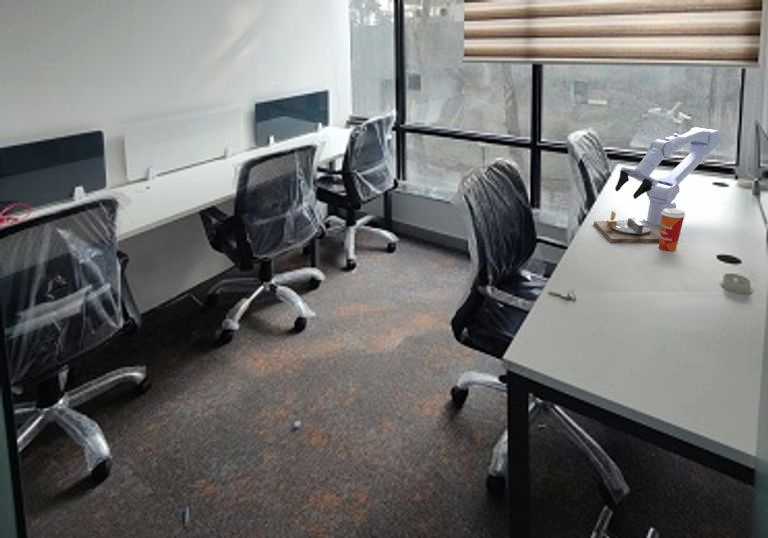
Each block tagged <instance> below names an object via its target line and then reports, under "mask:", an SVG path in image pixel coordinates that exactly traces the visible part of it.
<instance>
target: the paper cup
mask: <svg viewBox="0 0 768 538" xmlns="http://www.w3.org/2000/svg"><path fill="white" fill-rule="evenodd" d="M661 214H662V219H661V225H660V229H659V230H660V238H659V243H658V249H659V250H660V251H664V252H668V253H669V252H675V251H676V250H677V246H678V243H679V240H680V235H681V232H682V227H683V223H684V220H685V219H684V218H685V217H686V212H685V211H684V210H683V209H681V208H677V207H676V208H672V209H671V208H665V209H663V212H661Z"/></svg>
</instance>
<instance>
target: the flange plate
mask: <svg viewBox="0 0 768 538" xmlns="http://www.w3.org/2000/svg"><path fill="white" fill-rule="evenodd" d="M606 221H607V226H608V227H612V229H614V230H616V231H618V232H622V233H627V234H646V233H649V232H650V231H651V226H650V225H648V224H646V223H642V222H639V221H640V220H638V219H637V218H632V217H629V218H627V219H626V220H625V219H622V220H616V219H615V220H610V219H608V220H606Z"/></svg>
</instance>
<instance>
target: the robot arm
mask: <svg viewBox="0 0 768 538" xmlns="http://www.w3.org/2000/svg"><path fill="white" fill-rule="evenodd" d="M720 133H721V132H720V131H719V130H718V129H707V128H700V127H699V126H698V127H697V126H696V127H693V128H690V130H689V131H688V132H685V133H684V134H678V133H673V134H672V135H671V136H669V137H667V136H666V137H664V138H663V139H656V140H654V141H651V143H650V145H649V148H648V150H647V151H646V155H645V156H643V158H642V160H641V161H640V162H639V164H637V166H636V167H635V168H627V167H623V166H622V167H621V168H620V170H619V178H618V181H617V183H616V186H614V189H615V192H619V191H620V190H621V188H623V186H624V185H625V184H626V183H627V182H629V181H630V180H629V179H630V178H634V179H635V180H637V181H638V182H641V184H640V185H639V187H638V188H637V189H636V191H634V193H633V199H634V200H636V199H637V198H639V197H640V196H642V195H643V194H645V193H646V196H647V197H648V201H649V205H648V211H647V217H645V218H643V219H642V221H649V222H650V223H651V224H652V225H654V226H661V219H662V214H661V212H663V209H665V208H671V209H672V208H676V209H677V204H676V201H674V200H675V199H676V197H677V196H678V194H679V193H680V186H679V185H680V184H681V183H682V182H683V181H684V180H685V179H686V178H687V177H688V176H689V175H690V174H691V173H692V172H693V171H694V170H695V169H696V168H697V167H698V166H699V165H700V164H701V163H702V162H703V161H704V160H705V159H706V157H707V156H708V155H709V154H710V153H711V152H712V151H713V150H715V148H716V147H718V145H719V142H720V139H721V134H720ZM687 144H688V151H689V152H690V153H689V154H688V155H687V156H686V157H685V158H684V159H683V160H682V161H680V162H679V164H677V166H675V168H674V169H673V170H671V171H670V172H669V173H668V174H667V175H666V176H665V177H660V178H657V179H655V178H653V177H652V176H651V174H653V172H654V171H655V170H656V168H657V167H658V166H659V165H660V164H661V162H662V161H663V160H664V158H665V157H666V158H669V157H671V156H672V154H673V153H674V152H677V151H678V150H681V149H683V148H684V146H685V145H687ZM629 177H630V178H629Z"/></svg>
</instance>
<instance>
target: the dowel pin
mask: <svg viewBox="0 0 768 538" xmlns="http://www.w3.org/2000/svg"><path fill="white" fill-rule="evenodd" d="M616 215H617V212H616V211H613V210H612V211H611V214H610V219H609V220H616Z"/></svg>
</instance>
